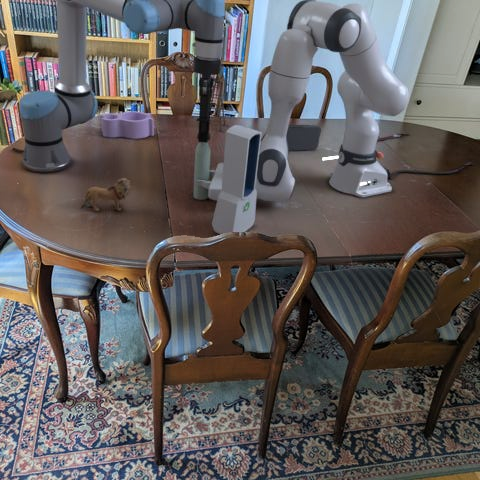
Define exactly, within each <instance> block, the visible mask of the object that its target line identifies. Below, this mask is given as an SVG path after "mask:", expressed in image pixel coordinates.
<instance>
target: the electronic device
mask: <svg viewBox="0 0 480 480" xmlns="http://www.w3.org/2000/svg"><path fill="white" fill-rule="evenodd" d="M262 134H263V132H262V131H259V130H256V129H253V128H249V127H245V126H242V125H239V124H234V125H233V126H230V127H229V128H228V129H227V130H226V132H225V142H224V153H223V163H224V166H223V178H222V191H221V193H220V195H219V197H218V200H217V201H216V204H215V209H214V212H213V217H212V221H211V226H212V229H213V232H214V233H216V234H217V235H220V234H223V233H228V232H244V233H245V232H246V231H248V230H249V229H250V228H252V227H253V225H254V223H255V221H256V210H257V209H256V208H257V198H256V196H257V191H256V190H255V184H256V176H257V168H258V160H259V151H260V143H261V139H262Z"/></svg>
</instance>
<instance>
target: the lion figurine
mask: <svg viewBox="0 0 480 480" xmlns="http://www.w3.org/2000/svg"><path fill="white" fill-rule="evenodd" d="M131 186H132V185H131V180H129V179H128V178H126V177H122V178H119V179H118V180H117V182H115V183H114V184H113V185H111V186H110V187H108V188H103V187H98V186H92V187H90V188H88V189H87V190H86V193H85V195H84V200H83V201H84V202H83V203H82V205H81V206H80V209H84V207H85V206H86V207H92V208H93V209H94V211H95V212H100V208H99V207H97V202H98V199H101V200H102V201H107V202H108V201H113V206H114V207H115V209H116V211H118V212H120V211H121V210H122V208H121V207H120V201H122V200H125V199H126V198H127V196H128V195H129V194H130V192H131V188H132V187H131ZM90 202H92V203H90Z"/></svg>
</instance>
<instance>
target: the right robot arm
mask: <svg viewBox="0 0 480 480" xmlns="http://www.w3.org/2000/svg"><path fill="white" fill-rule="evenodd" d="M286 24H287V25H286V30H284V31H283V32H282V33H281V34H280V36H279V38H278V41H277V43H276V46H275V49H274V52H273V55H272V58H271V59H272V60H271V64H270V68H269V73H268V74H269V75H268V82H267V83H268V85H267V93H268V97H269V99H270V104H271V105H270V106H271V107H270V113H269V118H268V123H267V128H266V131H265V133H264V134H263V136H261V143H260V151H259V160H258V168H257V176H256V184H255V190H256V191H257V196H256V199H258V200H261V201H262V202H263V201H265V202H273V203H284V202H288V201H289V200H290V199H291V198H292V195H293V193H294V191H295V187H296V179H295V178H294V176H293V173H292V171H291V168H290V165H289V161H288V159H289V157H288V156H289V152H290V151H289V146H288V141H287V130H288V125H290V121H291V118H292V117H291V116H292V112H293V110H294V108H295V107H296V106H297V105H298V104H300V103H301V102H302V100H303V99H304V96H305V94H306V92H307V88H308V85H309V82H310V79H311V74H312V73H311V72H312V66H313V61H314V58H315V54H316V53H317V52H318V50H319V49H322V50H328V51H330V52H333V53H338V54H339V56H340V57H339V58H340V60H341V62H342V65H343V68H344V71H343V72H342V73H341V74H340V76H339V78H338V81H337V83H336V84H337V85H336V88H337V89H336V90H337V93H338V95H339V96H340V98H341V100H342V103H343V104H342V105H343V107H344V113H345V128H344V129H345V130H344V134H343V138H342V143H341V144H340V146H339V147H340V148H339V151H338V155H334V156H327V157H322V161H328V160H335V159H337V163H336V165H335V168H334V170H333V173H332V175H331V177H330V178H329V181H328V183H329V185H330V186H331V187H332V188H333V189H335V190H336V191H338V192H342V193H344V194H348V195H353V196H355V197H358V198H368V197H371V196H372V197H373V196H376V195H377V196H378V195H381V194H386V193H391V192H392V190H393V187H392V185H391V183H390V182H388V179H389V180H392V179H393V178H394V177H395V176H396V175H397V174H399V173H401V174H402V173H409V174H424V175H425V174H426V175H451V174H455V173H458V172H459V171H461V170H463V169H464V168H466V167H467V166H465V167H462V168H460V169H459V170H458V168H456V169H453V170H450V171H427V170H412V169H411V170H410V169H399V170H398V169H397V170H396V171H394V172H393V173H391V171H390V169H389V168H387V167H385V166H384V165H382V164H380V163H379V161H378V160H382V159H383V158H384V157H385V156H384V154H383V153H382V152H381V151H377V150H376V146H377V142H378V141H377V139H379V135H380V126H379V124H378V123H377V121H376V120H375V117H374V113H375V114H377V115H381V116H387V117H396V116H398V115H400V114H401V113H403V111H404V110H405V109H406V108H407V105H408V103H409V101H410V92H409V88H408V87H407V86H406V85H405V84H403V82H401V81H400V80H399V79H398V77H396V75H395V74H394V72H393V71H392V69H391V68H390V67H389V65H388V63H387V61H386V60H385V59H384V57H383V54H382V52H381V48H380V45H379V42H378V38H377V34H376V30H375V28H374V25H373V23H372V20H371V18H370V15H369V14H368V11H367V10H366V9H365V7H364V6H363V5H361V4H359V3H348V4H346V5H343V6H340V5H337V4H335V3H331V2H325V1H317V0H300V1H298V2H297V3H296V4H295V5H294V7H293V8H292V10H291V11H290V14H289V16H288V21H287V23H286ZM377 159H378V160H377ZM471 163H472V162H470V161H469V162H467V163H465V164H464V165H468V166H471V167H474V163H473V164H471ZM469 164H470V165H469ZM223 166H224V162H219V163H217V165H216V169H210V170H209V178H212V179H211V180H209V181H205V180H203V179H200V178H198V179H197V185H198V186H203V187H205V188H206V189H208V199H210V200H212V201H216V202H217V200H218V197H219V195H220V193H221V191H222V178H223Z"/></svg>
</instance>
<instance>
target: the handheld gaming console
mask: <svg viewBox="0 0 480 480" xmlns="http://www.w3.org/2000/svg"><path fill="white" fill-rule="evenodd" d="M321 133H322V127H321V126H319V125H318V124H292V125H291V124H289V125H288V130H287V141H288V146H289V152H292V151H294V152H295V151H312V150H317V148H318V147H319V144H320V137H321Z"/></svg>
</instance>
